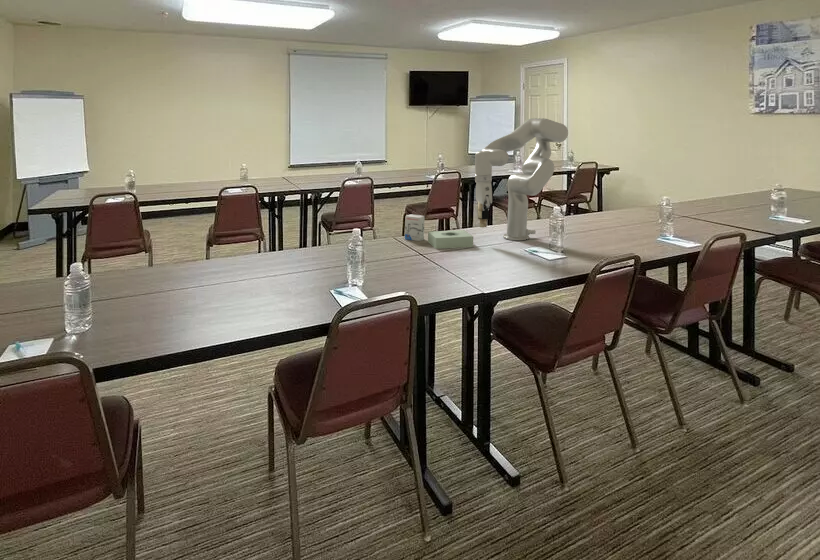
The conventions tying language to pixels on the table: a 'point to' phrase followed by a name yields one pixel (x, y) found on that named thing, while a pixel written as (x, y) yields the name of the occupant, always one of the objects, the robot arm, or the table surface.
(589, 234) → the table surface
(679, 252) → the table surface
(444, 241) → the board
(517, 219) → the robot arm
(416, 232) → the ink box
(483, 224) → the peg
